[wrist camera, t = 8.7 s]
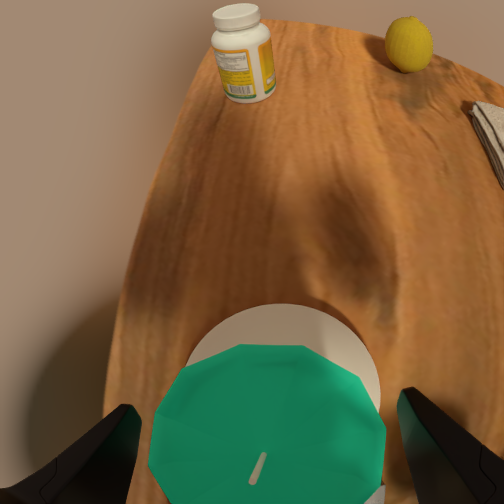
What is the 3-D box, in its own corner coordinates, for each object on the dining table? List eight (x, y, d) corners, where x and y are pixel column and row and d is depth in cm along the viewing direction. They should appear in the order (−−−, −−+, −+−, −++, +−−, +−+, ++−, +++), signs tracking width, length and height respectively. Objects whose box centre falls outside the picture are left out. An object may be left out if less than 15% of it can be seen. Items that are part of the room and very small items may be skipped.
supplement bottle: (236, 111, 26) (213, 26, 17) (218, 86, 28) (196, 12, 20) (286, 94, 26) (277, 10, 18) (263, 71, 28) (251, -3, 20)
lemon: (371, 65, 27) (377, 8, 20) (400, 57, 28) (408, 6, 20) (406, 89, 25) (420, 29, 18) (433, 81, 25) (447, 27, 18)
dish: (375, 476, 13) (379, 481, 12) (188, 481, 15) (183, 485, 14) (368, 298, 18) (371, 295, 17) (185, 311, 19) (179, 308, 18)
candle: (348, 372, 15) (447, 370, 4) (314, 464, 13) (335, 595, 3) (249, 344, 17) (162, 292, 6) (217, 434, 15) (93, 511, 4)
